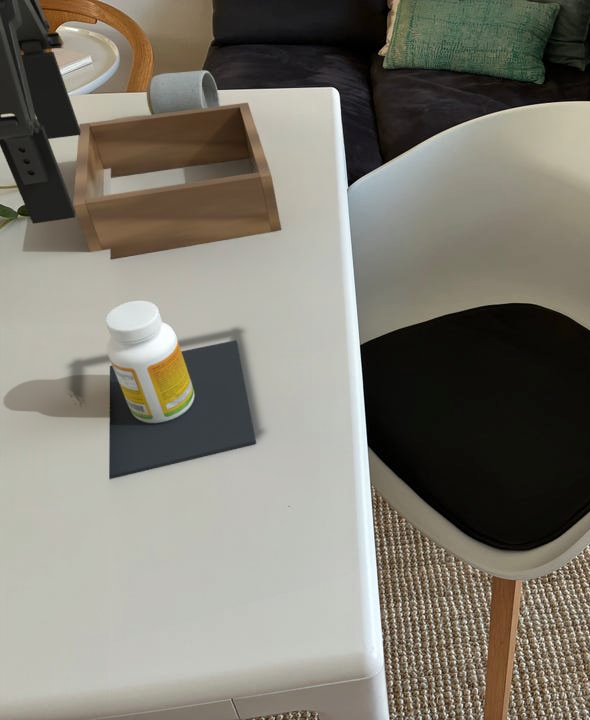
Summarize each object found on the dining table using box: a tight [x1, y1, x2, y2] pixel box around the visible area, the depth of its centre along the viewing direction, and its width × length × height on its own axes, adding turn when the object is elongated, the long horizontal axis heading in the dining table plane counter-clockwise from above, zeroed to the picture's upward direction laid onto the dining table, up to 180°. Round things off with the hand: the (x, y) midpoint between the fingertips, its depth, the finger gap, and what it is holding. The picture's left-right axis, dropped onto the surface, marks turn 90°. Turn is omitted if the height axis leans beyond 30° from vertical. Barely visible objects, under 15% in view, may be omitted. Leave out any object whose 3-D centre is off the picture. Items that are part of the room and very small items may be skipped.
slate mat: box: [108, 339, 257, 479], centre depth 68 cm, size 14×14×1 cm
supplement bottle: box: [105, 300, 194, 423], centre depth 65 cm, size 5×5×10 cm
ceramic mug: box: [146, 69, 221, 115], centre depth 108 cm, size 11×8×8 cm
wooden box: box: [72, 102, 282, 260], centre depth 93 cm, size 21×20×7 cm
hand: (59, 173), depth 59 cm, fingers open, 13 cm apart
